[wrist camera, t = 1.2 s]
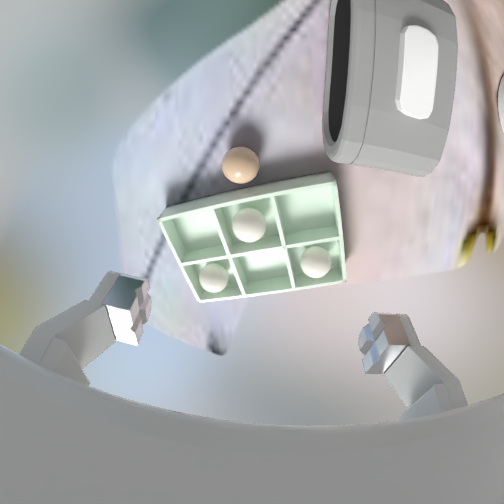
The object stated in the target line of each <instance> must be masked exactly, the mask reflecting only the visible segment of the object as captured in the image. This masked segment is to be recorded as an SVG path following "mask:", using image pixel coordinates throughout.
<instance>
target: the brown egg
mask: <svg viewBox="0 0 504 504" xmlns="http://www.w3.org/2000/svg"><path fill="white" fill-rule="evenodd" d="M222 170H223V173H224V175H225V176H226V177H227V178H228V179H229V180H230V181H232V182H234V183H239V184H241V183H247V182H249V181H251V180H252V179H253V178H254V177H255V176H256V175H257V173H258V171H259V159H258V157H257V155H256V154H255V153H254V152H253V151H252V150H251V149H249V148H246V147H235V148H233V149H231V150H229V151H228V152H227V153H226V154H225V156H224V158H223V160H222Z"/></svg>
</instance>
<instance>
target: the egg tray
mask: <svg viewBox="0 0 504 504" xmlns="http://www.w3.org/2000/svg"><path fill="white" fill-rule="evenodd" d="M244 208H254V209H257V210H259V211H260V212H261V213H262V214H263V215H264V217H265V219H266V223H267V227H266V231H265V233H264V235H263V236H262V237H261V238H260V239H259V240H257V241H255V242H244V241H241V240H240V239H238V238H237V237H236V236H235V234H234V232H233V230H232V221H233V218H234V216H235V215H236V213H237V212H239V211H240V210H242V209H244ZM157 220H158V222H159V225H160V227H161V229H162V231H163V233H164V235H165V237H166V239H167V242H168V244H169V246H170V248H171V250H172V252H173V254H174V256H175V258H176V260H177V262H178V264H179V266H180V268H181V270H182V272H183V274H184V276H185V278H186V280H187V282H188V284H189V286H190V288H191V290H192V291H193V293H194V295H195V297H196V299H197V301H198V303H201V302H210V301H219V300H227V299H235V298H243V297H251V296H259V295H266V294H273V293H280V292H287V291H294V290H301V289H307V288H314V287H320V286H326V285H332V284H338V283H344V282H346V267H345V253H344V242H343V231H342V222H341V213H340V204H339V197H338V189H337V182H336V180H335V178H334V176H333V174H332V172H325V173H319V174H313V175H308V176H302V177H297V178H291V179H286V180H281V181H276V182H271V183H266V184H261V185H256V186H252V187H247V188H242V189H238V190H233V191H229V192H225V193H220V194H216V195H212V196H208V197H204V198H200V199H196V200H192V201H188V202H184V203H180V204H176V205H173V206H169V207H166V208H165V209H164V210H163V212H162V213H161V214H160V216H159V217H158V218H157ZM312 246H320V247H323V248H324V249H326V250H327V251H328V252H329V254H330V256H331V259H332V265H331V268H330V270H329V272H328V273H327V274H326V275H324V276H323V277H320V278H312V277H309V276H307V275H306V274H305V273H304V272H303V270H302V268H301V265H300V259H301V256H302V254H303V252H304V251H305V250H306V249H308V248H310V247H312ZM210 263H217V264H220V265H222V266H223V267H224V268H225V269H226V270H227V272H228V276H229V280H228V284H227V286H226V287H225V288H224V289H223V290H222V291H220V292H216V293H211V292H208V291H206V290H205V289H204V288H203V287H202V286H201V284H200V281H199V274H200V272H201V270H202V268H203V267H204V266H206V265H207V264H210Z"/></svg>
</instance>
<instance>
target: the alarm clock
mask: <svg viewBox="0 0 504 504" xmlns="http://www.w3.org/2000/svg"><path fill="white" fill-rule="evenodd" d="M457 51H458V42H457V29H456V19H455V15H454V13H453V12H452V10H451V8H450V6H449V5H448V4H447V3H446V2H445V1H443V0H331V3H330V11H329V28H328V48H327V65H326V79H325V91H324V105H323V118H322V132H323V143H324V147H325V151H326V153H327V156H328V157H329V158H330V159H331V160H332V161H334V162H337V163H344V164H351V165H358V166H364V167H370V168H376V169H382V170H387V171H393V172H398V173H403V174H408V175H413V176H419V177H424V176H426V175H428V174H430V173H431V172H432V171H433V170H434V168H435V167H436V166H437V164H438V163H439V162H440V159H441V156H442V153H443V149H444V146H445V142H446V139H447V135H448V131H449V126H450V120H451V114H452V107H453V100H454V91H455V82H456V70H457Z"/></svg>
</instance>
